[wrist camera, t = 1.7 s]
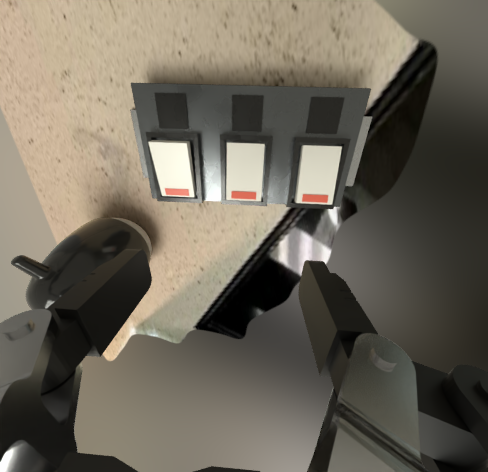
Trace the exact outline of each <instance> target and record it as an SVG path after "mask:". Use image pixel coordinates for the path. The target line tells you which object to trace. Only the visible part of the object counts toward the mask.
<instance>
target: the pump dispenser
mask: <svg viewBox="0 0 488 472" xmlns="http://www.w3.org/2000/svg"><path fill="white" fill-rule="evenodd" d="M125 249H137V250H144V251H145V252H146V254H147V259H148V263H149V262H150V256H151V250H152V248H151V242H150V239H149V237H148V235H147V233H146V232H145V231H144V230H143V229H142V228H141V227H140V226H139V225H137V224H136V223H134V222H132V221H129V220H127V219H122V218H98V219H94V220H92V221H90V222H88V223H86V224H84V225H83V226H81V227H80V228H78V229H77V230H75V231H74V232H73V233H71V234H70V235H69V236H67V237H66V238H65V239H64V240H63V241H62V242H60V243H59V244H58V245H57V246H56V247H55V248H54V249H53V251H51V253H50V254H49V255H48V256H47V257H46V258H45V260H44V261H43V262H42V263H39V262H37V261H35V260H33V259H31V258H28V257H26V256H24V255H20V256H17V257H15V258H14V259H13V260H12V261H11V264H12V265H13V266H15V267H17V268H18V269H20V270H22V271H24V272H25V273H27V274H29V275H30V276H32V278H31V280H30V282H29V285H28V287H27V291H26V301H27V303H28V305H29V307H30V308H31V309H32V310H34V309H46V308H48V307H49V306H50V305H51V304H53V303H54V302H55V301H56V300H58V299H59V298H60V297H61V296H63V295H64V294H65V293H66V292H68V291H69V290H70V289H71V288H73V287H74V286H75V285H76V284H77V283H79V282H82V279H84V278H85V277H86V276H87V275H90V274H91V272H92V271H94V270H95V269H96V268H97V267H99V266H100V265H102V264H104V263H106V262H108V261H110V260H112V259H114V258H115V257H116V256H117V255H118V254H120V253H121V252H122V251H123V250H125Z"/></svg>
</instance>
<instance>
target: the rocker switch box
mask: <svg viewBox="0 0 488 472" xmlns="http://www.w3.org/2000/svg"><path fill="white" fill-rule="evenodd" d="M131 87H132V92H133V97H134V103H135V108H136V110H130V111H131V116H132V121H133V126H134V131H135V136H136V141H137V146H138V151H139V156H140V161H141V166H142V171H143V176H144V177H146V178H149V182H150V188H151V193H152V198H157V200H158V201H168V202H190V203H203V201H221V204H233V205H255V206H267V203H269V204H285V205H286V207H298V208H320V209H333V208H334V207H340V204H341V200H342V196H343V192H344V189H345V186H353V183H354V179H355V176H356V172H357V169H358V165H359V162H360V158H361V155H362V151H363V148H364V144H365V141H366V137H367V134H368V130H369V126H370V123H371V119H372V117H367V116H364V113H365V110H366V106H367V102H368V98H369V95H370V91H371V89H370V88H328V87H286V86H244V85H202V84H160V83H131ZM152 140H166V141H189V142H190V149H191V156H192V163H193V171H194V178H195V185H196V193H197V194H196V196H195V197H176V196H162V194H161V190H160V186H159V182H158V178H157V174H156V170H155V166H154V162H153V158H152V154H151V151H150V147H149V143H148V142H149V141H152ZM227 143H253V144H265V148H264V164H263V179H262V195H261V201H240V200H226V179H227ZM303 145H311V146H339V147H342V150H341V156H340V162H339V168H338V173H337V179H336V185H335V191H334V197H333V202H332V205H328V204H306V203H295V194H296V185H297V177H298V168H299V159H300V150H301V146H303Z"/></svg>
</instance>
